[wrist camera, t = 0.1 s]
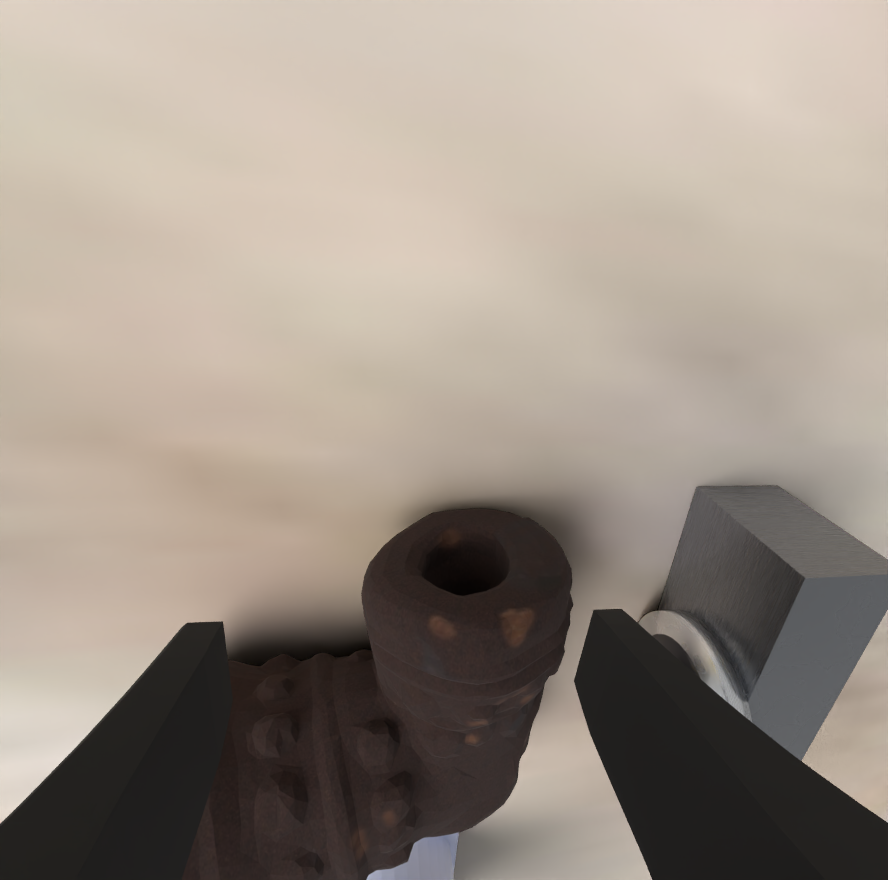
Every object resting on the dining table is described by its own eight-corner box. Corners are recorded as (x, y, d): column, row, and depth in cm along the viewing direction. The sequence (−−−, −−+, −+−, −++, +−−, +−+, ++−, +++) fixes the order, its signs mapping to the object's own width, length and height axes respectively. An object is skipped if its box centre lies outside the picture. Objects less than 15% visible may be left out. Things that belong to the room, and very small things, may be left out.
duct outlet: (679, 733, 29) (765, 878, 23) (599, 740, 28) (665, 894, 22) (777, 485, 22) (941, 595, 16) (673, 487, 21) (802, 604, 15)
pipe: (651, 631, 14) (52, 824, 10) (591, 866, 21) (226, 1031, 18) (510, 465, 22) (147, 538, 18) (501, 676, 29) (239, 760, 26)
